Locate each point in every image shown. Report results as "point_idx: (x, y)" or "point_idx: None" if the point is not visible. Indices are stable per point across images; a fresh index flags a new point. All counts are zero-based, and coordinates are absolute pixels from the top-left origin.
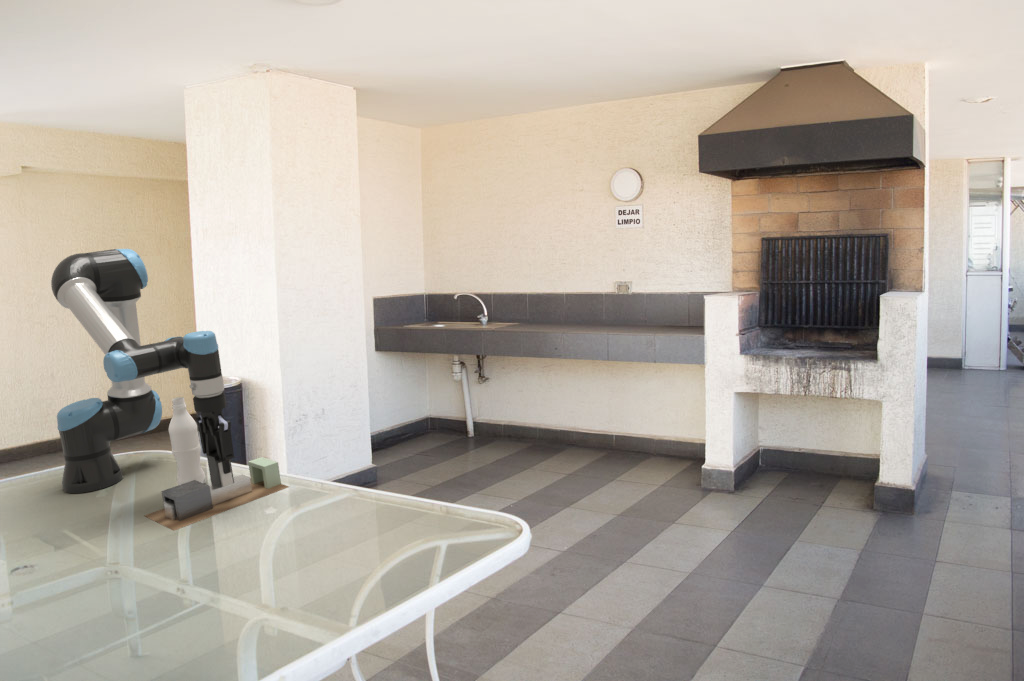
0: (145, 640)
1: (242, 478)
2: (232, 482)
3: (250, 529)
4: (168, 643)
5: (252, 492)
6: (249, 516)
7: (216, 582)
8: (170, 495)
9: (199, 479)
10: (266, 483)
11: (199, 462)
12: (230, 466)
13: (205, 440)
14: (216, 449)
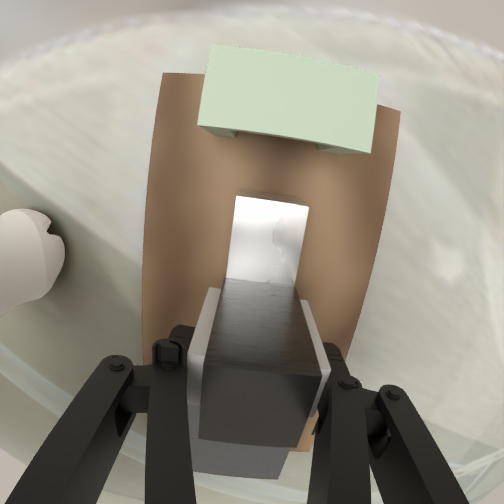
0: (467, 497)
1: (287, 233)
2: (307, 304)
3: (461, 357)
4: (487, 486)
5: (310, 205)
6: (419, 318)
7: (487, 447)
8: (242, 476)
9: (53, 256)
10: (341, 153)
11: (6, 256)
12: (321, 342)
13: (107, 456)
14: (185, 392)
